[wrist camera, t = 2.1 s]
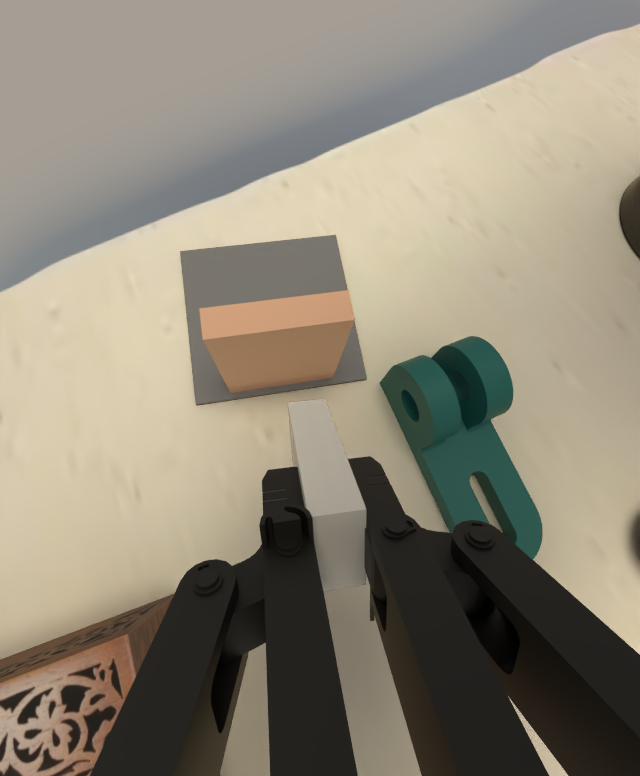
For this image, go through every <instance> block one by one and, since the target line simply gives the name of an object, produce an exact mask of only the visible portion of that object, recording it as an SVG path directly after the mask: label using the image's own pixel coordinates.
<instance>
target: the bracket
mask: <svg viewBox="0 0 640 776" xmlns="http://www.w3.org/2000/svg"><path fill="white" fill-rule="evenodd" d="M380 384H381V386H382V388H383V391H384V393H385V395H386V397H387V399H388V401H389V403H390V405H391V408H392V410H393V412H394V414H395V416H396V418H397V420H398V422H399V425H400V427H401V429H402V431H403V433H404V435H405V437H406V440H407V442H408V444H409V446H410V448H411V450H412V452H413V454H414V457H415V459H416V461H417V463H418V465H419V467H420V469H421V471H422V474H423V476H424V478H425V480H426V482H427V484H428V486H429V489H430V491H431V493H432V495H433V497H434V499H435V501H436V503H437V506H438V508H439V510H440V512H441V514H442V516H443V518H444V521H445V523H446V525H447V527H448V529H449V531H450V533H452V532H453V530H454V528H455V526H456V525H457V524H459V523H461V522H463V521H468V520H476V521H482V522H485V523H488V524H489V522H488V520H487V518H486V516H485V514H484V512H483V510H482V508H481V506H480V504H479V502H478V500H477V498H476V496H475V494H474V492H473V490H472V488H471V486H470V483H469V479H470V476H471V474H473V475H474V476H475V477H476V478H477V480H478V482H479V484H480V486H481V488H482V490H483V492H484V494H485V496H486V498H487V500H488V502H489V504H490V506H491V508H492V510H493V512H494V514H495V516H496V518H497V520H498V522H499V524H500V526H501V528H502V530H503V534H504V535H505V536H506V537H508V538H509V539H510V540H511V541H512V542H513V543H514V544H515V545H517V546H518V547H519V548H520V549H521V550H522V551H523V552H524V553H526V554H527V555H528V556H529V557H530V558H531V559H532V560H533V559H534V557H535V556H536V555H537V553H538V551H539V548H540V545H541V541H542V523H541V519H540V516H539V513H538V511H537V509H536V507H535V505H534V503H533V501H532V499H531V497H530V495H529V493H528V491H527V489H526V488H525V486H524V484H523V482H522V480H521V478H520V476H519V474H518V472H517V470H516V469H515V467H514V465H513V463H512V461H511V459H510V457H509V455H508V453H507V451H506V450H505V448H504V446H503V444H502V442H501V440H500V438H499V436H498V434H497V432H496V430H495V429H494V427H493V425H492V423H491V419H492V418H494V417H496V416H498V415H501V414H503V413H505V412H506V411H507V410H508V409H509V408H510V406H511V404H512V400H513V386H512V380H511V377H510V374H509V371H508V368H507V366H506V364H505V362H504V361H503V359H502V357H501V356H500V354H499V353H498V352H497V351H496V349H495V348H494V347H493V346H492V345H491V344H489V343H488V342H487V341H485V340H484V339H482V338H479V337H475V336H470V337H467V338H464V339H462V340H459V341H457V342H454V343H451V344H449V345H446V346H444V347H442V348H441V349H440V350H439V351H438V352H437V353H436V354H435V355H434V356H433V357H432V358H429V357H427V356H424V355H421V356H418V357H415V358H413V359H410V360H408V361H405V362H402V363H400V364H397V365H395V366H393V367H392V368H391V369H390V370H389V372H388V373H387V374H386V376H385V377H384V378H383V379H382V381H381V382H380Z"/></svg>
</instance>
